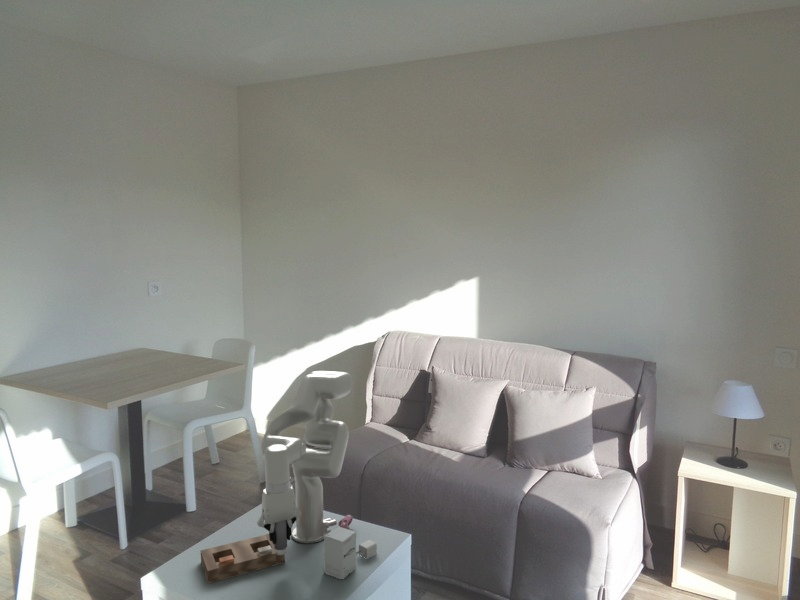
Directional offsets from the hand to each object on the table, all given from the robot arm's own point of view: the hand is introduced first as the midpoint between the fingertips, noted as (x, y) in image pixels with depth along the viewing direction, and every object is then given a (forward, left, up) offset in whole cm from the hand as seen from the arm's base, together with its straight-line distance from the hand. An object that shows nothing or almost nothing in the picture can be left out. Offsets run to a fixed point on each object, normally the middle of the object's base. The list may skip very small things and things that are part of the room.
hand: (280, 539), depth 182 cm
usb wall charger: (-27, +4, -11) cm, 29 cm away
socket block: (+10, -11, -11) cm, 18 cm away
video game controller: (-26, -13, -11) cm, 31 cm away
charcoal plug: (0, 0, -4) cm, 4 cm away
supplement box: (-16, +9, -11) cm, 22 cm away
